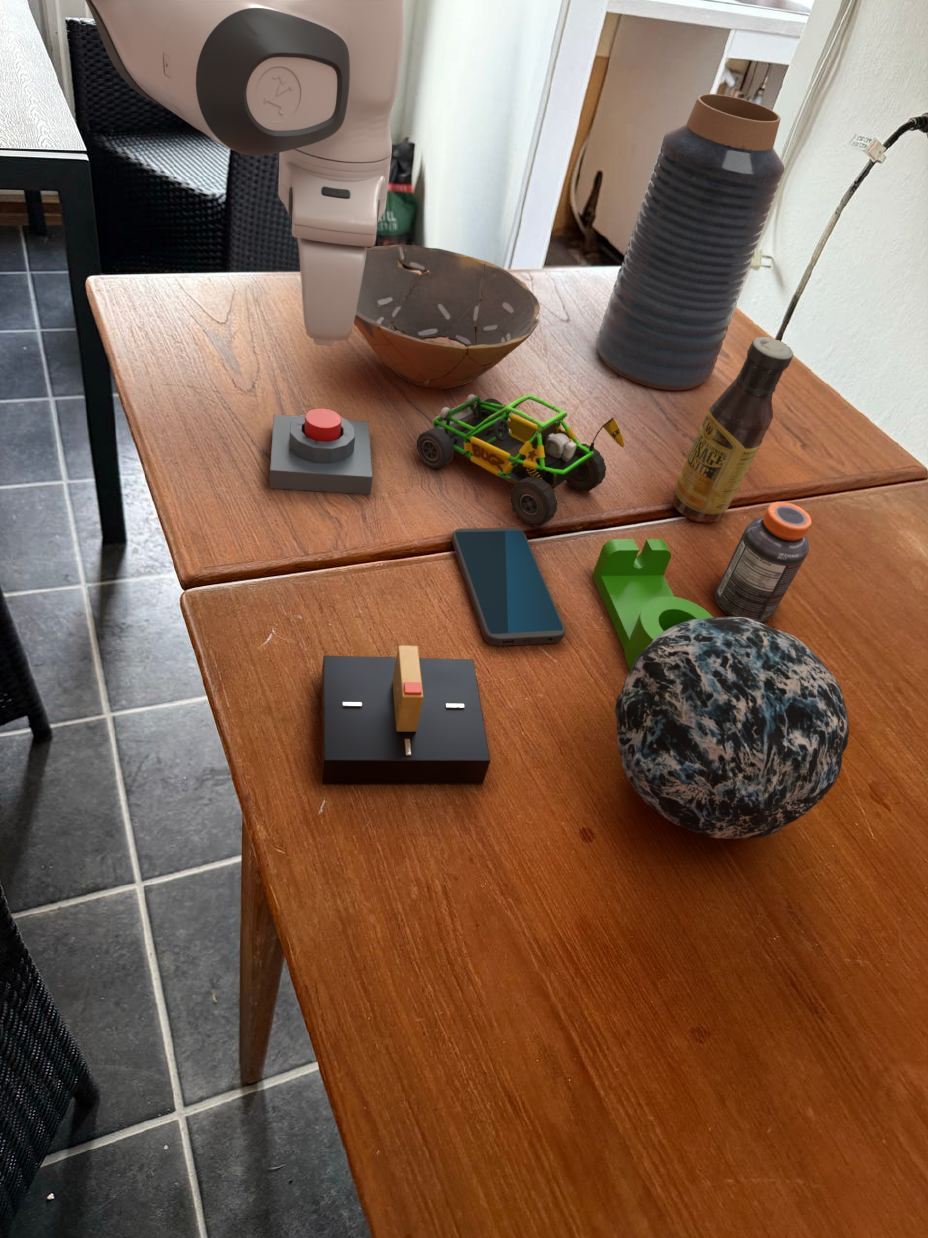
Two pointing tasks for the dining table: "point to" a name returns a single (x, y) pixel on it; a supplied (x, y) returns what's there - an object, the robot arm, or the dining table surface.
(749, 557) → the pill bottle
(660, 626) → the tape dispenser
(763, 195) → the vase
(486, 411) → the motor vehicle
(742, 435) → the sauce bottle
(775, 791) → the decorative stone
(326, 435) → the bell button
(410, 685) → the thumb turn
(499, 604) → the smartphone
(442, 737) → the plate
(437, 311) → the bowl
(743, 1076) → the dining table surface
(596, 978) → the dining table surface
